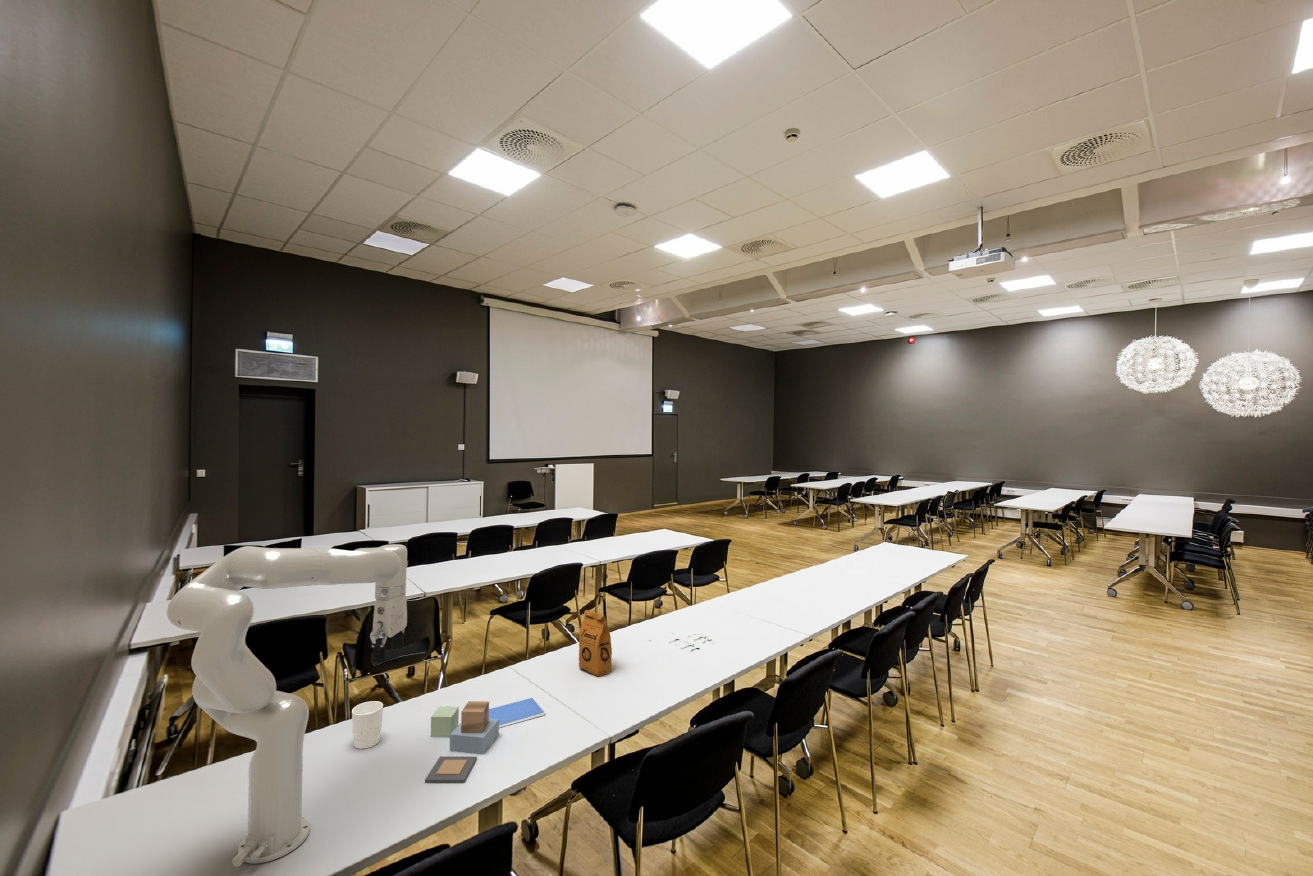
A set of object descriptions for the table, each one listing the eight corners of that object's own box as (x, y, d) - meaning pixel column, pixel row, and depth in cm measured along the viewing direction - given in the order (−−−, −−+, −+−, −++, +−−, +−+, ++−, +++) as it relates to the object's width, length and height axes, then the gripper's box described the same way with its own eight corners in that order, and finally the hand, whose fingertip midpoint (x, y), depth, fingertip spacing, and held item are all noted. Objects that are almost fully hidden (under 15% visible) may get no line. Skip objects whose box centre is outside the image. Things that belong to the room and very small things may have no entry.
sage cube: (451, 737, 157) (451, 717, 157) (430, 737, 157) (431, 716, 157) (458, 726, 163) (458, 706, 163) (438, 726, 163) (438, 706, 163)
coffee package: (595, 679, 196) (595, 619, 196) (575, 669, 205) (576, 611, 205) (615, 671, 203) (616, 614, 203) (595, 661, 212) (596, 606, 212)
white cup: (347, 752, 149) (348, 716, 149) (355, 737, 156) (356, 702, 156) (378, 748, 151) (379, 712, 151) (385, 733, 158) (385, 699, 158)
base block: (483, 755, 149) (483, 737, 149) (449, 752, 150) (449, 734, 150) (498, 736, 158) (499, 719, 158) (467, 733, 160) (467, 716, 160)
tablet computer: (484, 734, 160) (484, 730, 160) (474, 716, 170) (474, 711, 170) (546, 717, 170) (546, 712, 170) (532, 700, 181) (532, 696, 181)
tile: (464, 783, 136) (464, 778, 136) (424, 782, 136) (425, 778, 136) (476, 759, 146) (476, 755, 146) (440, 759, 146) (440, 755, 146)
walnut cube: (482, 733, 151) (482, 711, 151) (461, 732, 151) (461, 711, 151) (488, 721, 157) (489, 701, 157) (468, 721, 157) (468, 701, 157)
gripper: (388, 600, 136) (385, 667, 136) (418, 583, 154) (416, 643, 153) (358, 599, 136) (356, 667, 136) (392, 583, 154) (390, 642, 153)
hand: (388, 654), depth 144 cm, fingers open, 9 cm apart
